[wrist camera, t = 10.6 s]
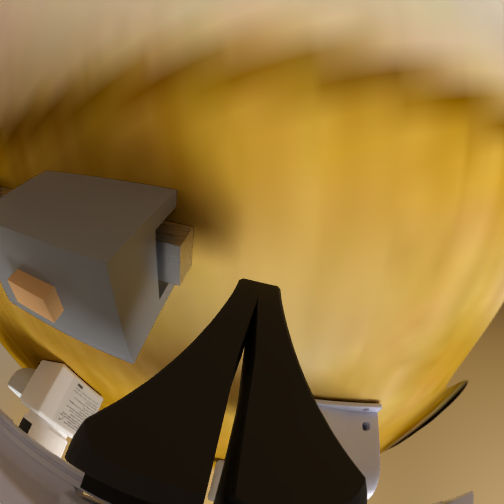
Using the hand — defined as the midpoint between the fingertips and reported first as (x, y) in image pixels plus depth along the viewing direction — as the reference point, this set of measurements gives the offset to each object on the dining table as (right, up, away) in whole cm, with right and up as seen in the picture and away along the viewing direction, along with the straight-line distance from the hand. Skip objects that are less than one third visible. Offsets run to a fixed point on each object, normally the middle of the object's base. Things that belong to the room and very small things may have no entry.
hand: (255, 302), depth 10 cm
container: (-24, -15, +18) cm, 34 cm away
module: (-7, +3, +2) cm, 8 cm away
